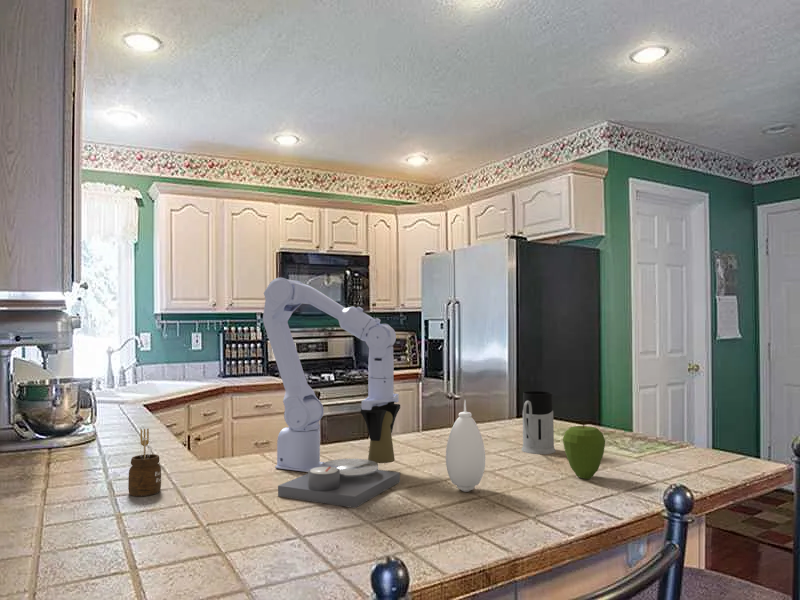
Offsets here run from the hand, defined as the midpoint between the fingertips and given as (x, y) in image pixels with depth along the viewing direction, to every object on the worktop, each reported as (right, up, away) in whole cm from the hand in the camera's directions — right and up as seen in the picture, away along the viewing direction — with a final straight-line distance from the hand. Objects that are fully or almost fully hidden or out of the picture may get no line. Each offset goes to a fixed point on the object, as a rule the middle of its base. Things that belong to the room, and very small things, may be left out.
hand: (380, 438), depth 131 cm
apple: (+44, -7, -6) cm, 45 cm away
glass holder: (+39, -8, +19) cm, 44 cm away
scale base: (-7, -7, -14) cm, 17 cm away
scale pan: (-6, -4, -11) cm, 13 cm away
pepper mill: (0, -5, 0) cm, 5 cm away
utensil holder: (-46, -7, -16) cm, 49 cm away
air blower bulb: (+17, -7, -15) cm, 24 cm away
